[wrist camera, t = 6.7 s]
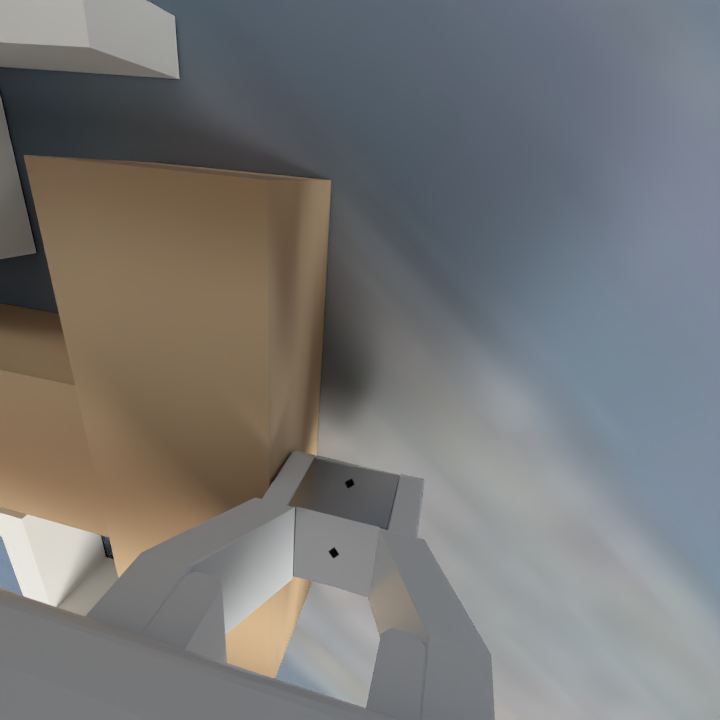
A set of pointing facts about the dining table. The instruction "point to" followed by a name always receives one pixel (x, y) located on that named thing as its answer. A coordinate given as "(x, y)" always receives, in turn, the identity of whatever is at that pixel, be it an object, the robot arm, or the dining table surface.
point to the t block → (167, 357)
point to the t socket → (14, 238)
